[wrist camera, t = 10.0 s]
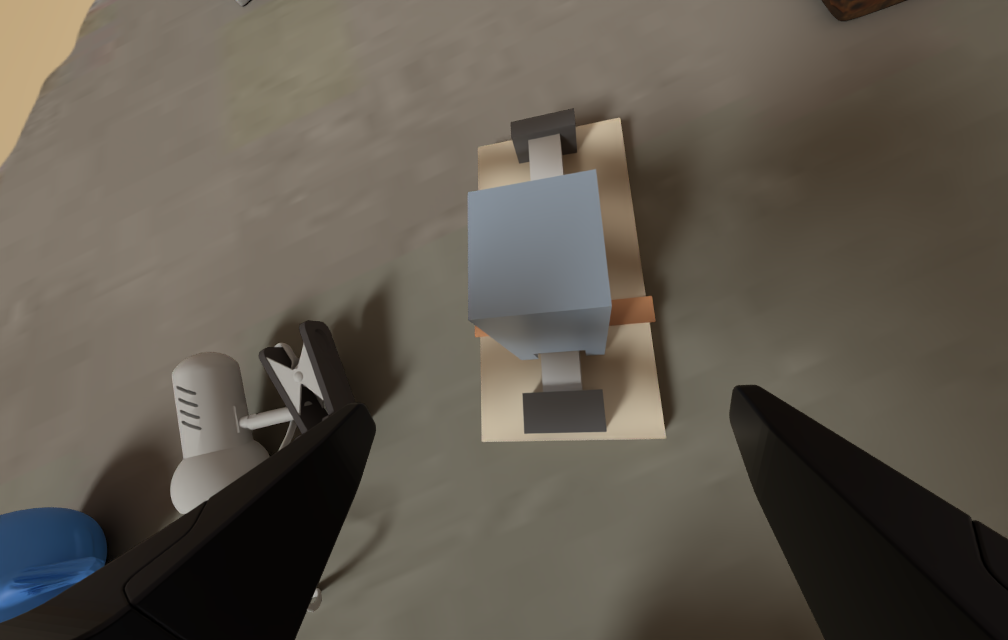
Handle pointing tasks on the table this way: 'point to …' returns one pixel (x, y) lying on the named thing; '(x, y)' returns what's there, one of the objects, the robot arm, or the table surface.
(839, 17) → the framed painting
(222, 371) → the clip-on lamp
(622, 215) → the rail
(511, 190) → the pale blue rectangular block
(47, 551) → the blue mole toy
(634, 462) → the table surface
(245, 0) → the coffee box
